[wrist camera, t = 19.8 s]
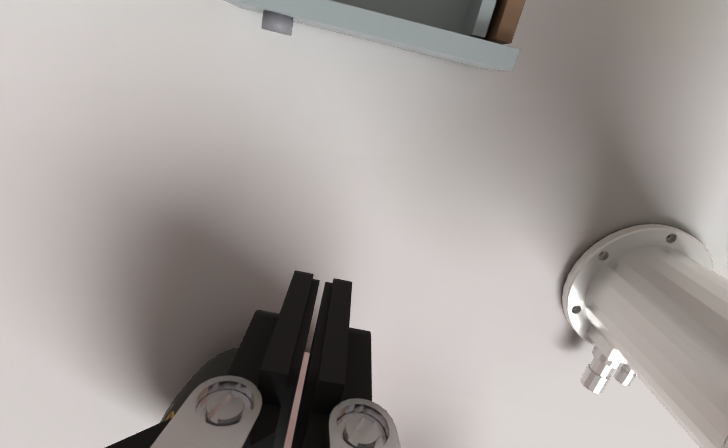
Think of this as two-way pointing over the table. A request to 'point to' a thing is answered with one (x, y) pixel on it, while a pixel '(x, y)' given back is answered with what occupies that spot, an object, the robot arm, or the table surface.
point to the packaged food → (221, 368)
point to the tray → (398, 25)
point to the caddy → (504, 21)
